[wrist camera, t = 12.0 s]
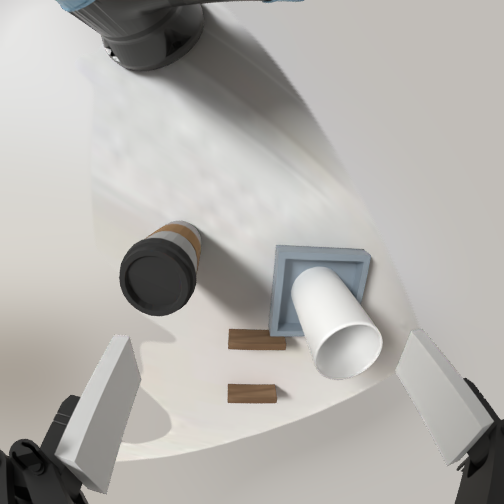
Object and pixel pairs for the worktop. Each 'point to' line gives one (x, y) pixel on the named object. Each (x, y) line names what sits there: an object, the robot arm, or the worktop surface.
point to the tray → (297, 261)
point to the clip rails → (253, 341)
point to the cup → (334, 325)
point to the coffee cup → (162, 269)
